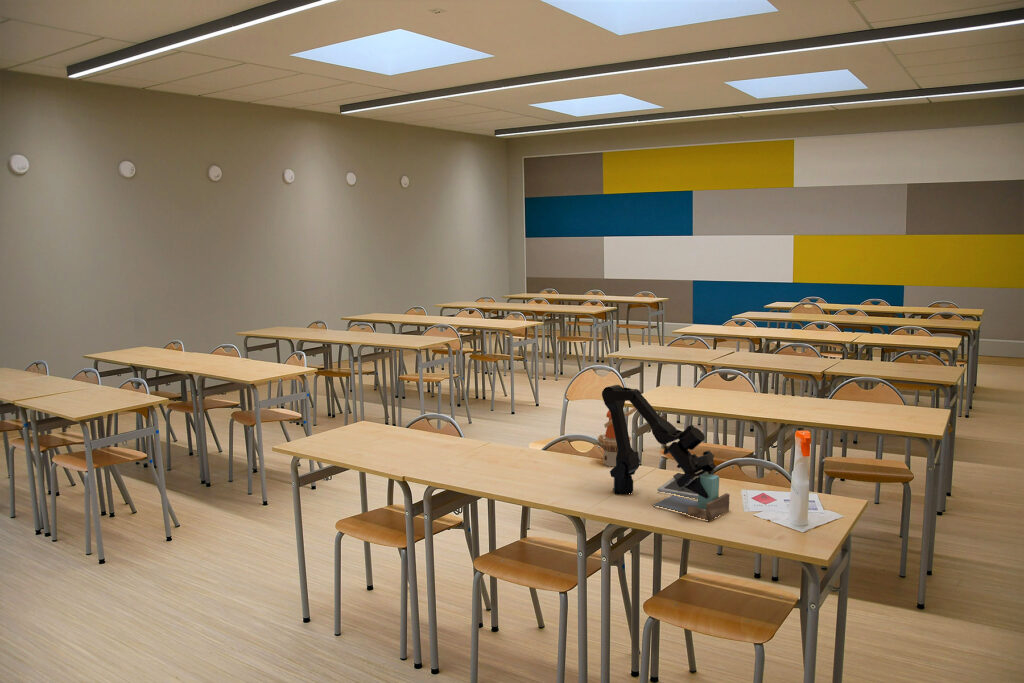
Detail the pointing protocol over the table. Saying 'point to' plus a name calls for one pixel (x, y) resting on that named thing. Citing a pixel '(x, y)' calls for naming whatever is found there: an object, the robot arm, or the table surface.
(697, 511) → the walnut slot rack
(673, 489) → the picture frame
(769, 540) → the table surface
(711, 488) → the teal block
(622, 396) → the robot arm
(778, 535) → the table surface
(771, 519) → the table surface
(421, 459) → the table surface
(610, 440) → the windmill
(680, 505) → the slate pad
